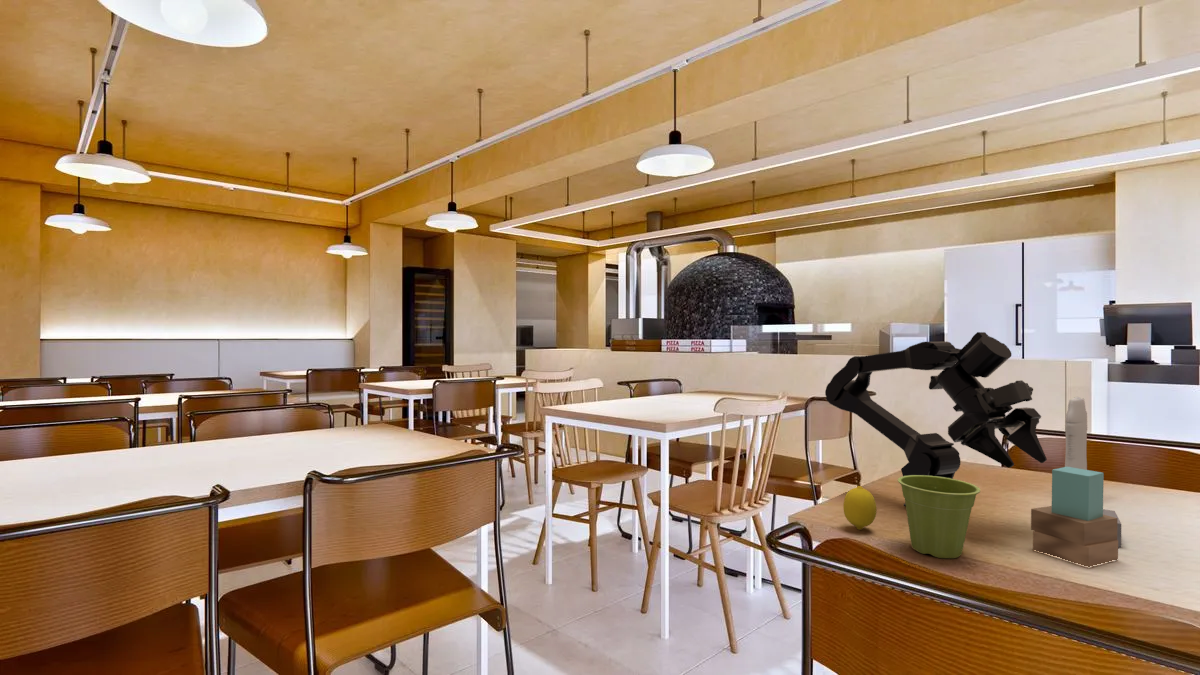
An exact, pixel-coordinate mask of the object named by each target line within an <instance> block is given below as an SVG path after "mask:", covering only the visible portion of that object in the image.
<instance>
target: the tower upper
mask: <svg viewBox="0 0 1200 675" xmlns="http://www.w3.org/2000/svg"><path fill="white" fill-rule="evenodd" d="M1030 530H1031V531H1037V532H1040V533H1043V534H1046V535H1050V536H1053V537H1056V538H1059V539H1063V540H1066V541H1069V542H1072V543H1076V544H1079V545H1082V546H1087V545H1093V544H1098V543H1104V542H1109V541H1114V540H1117V518H1115V517H1111V516H1107V515H1103V516H1102V517H1099V518H1096V519H1093V520H1090V521H1086V520H1082V519H1078V518H1073V517H1069V516H1065V515H1061V514H1056V513H1052V505H1048V506H1041V507H1037V508H1035V507H1034V508H1031V509H1030Z"/></svg>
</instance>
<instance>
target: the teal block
mask: <svg viewBox="0 0 1200 675" xmlns="http://www.w3.org/2000/svg"><path fill="white" fill-rule="evenodd" d="M1104 476H1105V475H1104V472H1101V471H1096V470H1095V471H1094V470H1089V469H1087V470H1084V469H1078V468H1073V467H1065V466H1063V467H1059V468H1054V469H1052V470H1051V506H1052V513H1056V514H1061V515H1065V516H1069V517H1073V518H1078V519H1082V520H1086V521H1090V520H1093V519H1096V518H1099V517H1102V516H1103V509H1104V482H1105V481H1104V478H1105V477H1104Z"/></svg>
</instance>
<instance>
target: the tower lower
mask: <svg viewBox="0 0 1200 675" xmlns="http://www.w3.org/2000/svg"><path fill="white" fill-rule="evenodd" d="M1032 531H1033V532H1032V551H1033V550H1036V551H1039V552H1043V553H1047V554H1050V555H1053V556H1057V557H1060V558H1062V559H1065V560H1068V561H1071V562H1074V563H1078V564H1081V565H1084V566H1088V567H1090V566H1093V565H1097V564H1101V563H1105V562H1109V561H1112V560H1117V559H1118V560H1119V547H1118V540H1114V541H1109V542H1104V543H1098V544H1093V545H1087V546H1082V545H1079V544H1076V543H1072V542H1069V541H1066V540H1063V539H1059V538H1056V537H1053V536H1050V535H1046V534H1043V533H1040V532H1037V531H1034V530H1032Z"/></svg>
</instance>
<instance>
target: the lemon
mask: <svg viewBox="0 0 1200 675" xmlns="http://www.w3.org/2000/svg"><path fill="white" fill-rule="evenodd" d="M842 507H843V514H844V517H845V518H846V520H847V521H848V522H849V524H851V525H853V526H854V527H856V529H857V530H863V529H864V528H865V527H868V526H870V525H872V523H873V522H874V521H875V519H876V517H877V516H876V515H877V504H876V500H875V498H874V496H873V494H872V493H871V491H869V490H868V489H866V488H864V487H863V486H861V485H858V486H857V487H854V488H852V489H850V490H848V492H847V493H846V495H845V497H844V500H843V506H842Z"/></svg>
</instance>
